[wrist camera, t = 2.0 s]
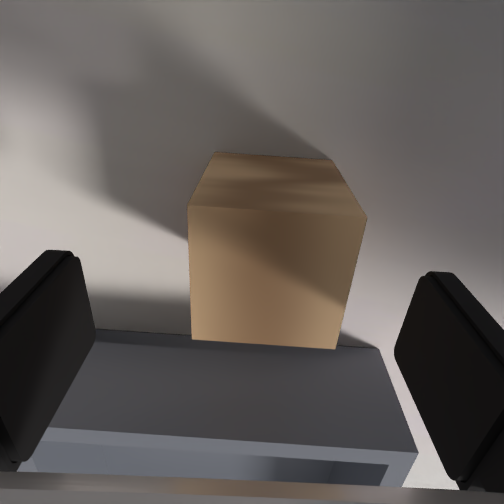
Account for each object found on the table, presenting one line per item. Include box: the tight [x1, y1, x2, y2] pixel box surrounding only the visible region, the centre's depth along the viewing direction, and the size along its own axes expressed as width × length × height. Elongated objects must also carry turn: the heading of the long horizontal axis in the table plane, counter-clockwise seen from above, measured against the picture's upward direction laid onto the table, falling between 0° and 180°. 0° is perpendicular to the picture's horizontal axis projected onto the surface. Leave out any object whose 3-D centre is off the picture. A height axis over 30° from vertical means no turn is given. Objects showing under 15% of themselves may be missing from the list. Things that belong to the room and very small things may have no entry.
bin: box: [17, 329, 419, 487], centre depth 22 cm, size 18×20×6 cm
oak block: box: [187, 152, 367, 349], centre depth 14 cm, size 5×5×6 cm
